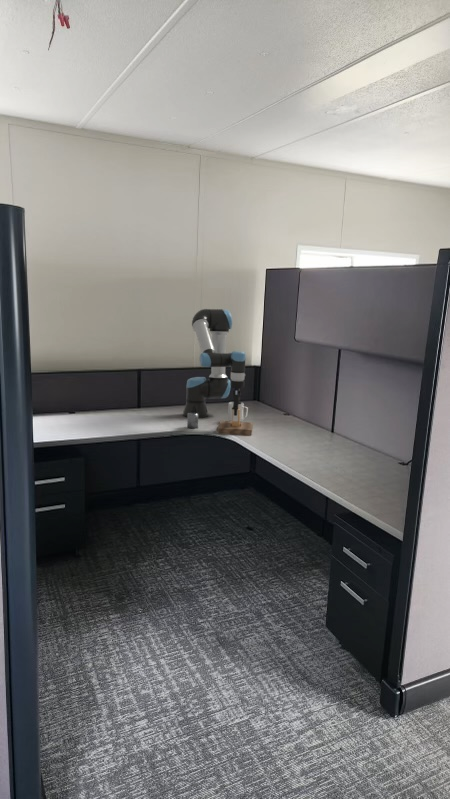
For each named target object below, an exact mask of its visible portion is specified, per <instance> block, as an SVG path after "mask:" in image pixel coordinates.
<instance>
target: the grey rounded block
mask: <svg viewBox="0 0 450 799" xmlns="http://www.w3.org/2000/svg"><path fill="white" fill-rule="evenodd" d="M186 418H187V420H186V422H187V423H186V429H189V430H196V429H198V428H199V418H198V413H188V414H187V417H186Z"/></svg>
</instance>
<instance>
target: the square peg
mask: <svg viewBox="0 0 450 799" xmlns="http://www.w3.org/2000/svg"><path fill="white" fill-rule="evenodd" d="M232 426H239V427H240V409H238V421H233V410H232Z"/></svg>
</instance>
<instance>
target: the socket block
mask: <svg viewBox="0 0 450 799" xmlns="http://www.w3.org/2000/svg"><path fill="white" fill-rule="evenodd" d="M253 424H254V422H251V421H249V422H248V421H242V422H240V427H239V426H232V421H229V420H220V422H219V425H218V427H217V434H219V435H220V434H221V435H235V436H236V435H238V436H239V435H242V436H252V435H253Z"/></svg>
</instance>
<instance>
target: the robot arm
mask: <svg viewBox="0 0 450 799" xmlns="http://www.w3.org/2000/svg"><path fill="white" fill-rule="evenodd" d="M191 327H192V329H193V331H194V332H195V334H196V337H197V341H198V344H199V348H200V351H201V353H200V354H199V365H200V366H201V367H202V368H203V367H204V368H205V367H206V368H211V370H210V371H211V373H210V374H209V376H208V379H207V378H206V377H205V376H195V377H191V378H188V379H187V381H186V386H185V387H186V388H185V389H186V398H185V399H186V400H185V401H186V403H185V405H184V409H183V411H182V416H184V417H186V418H187V414H188V413H198V419H199V418H206V417H208V416H209V415H208V414H209V412H208V409H207V405H206V400H207V399H226V398H228V397H229V395H230V391H231V388H234V390H233V392H232V394H233V402H234V403H233V408H232V409H233V421H238V409H240V405H239V404H241V403H242V402H241V395H242V391H241V389H244V388H245V377H247V376H246V373H245V372H246V358H247V357H246V352H245V351H241V350H238V351H237V350H235V351H232V352H227V334H229V332H230V330H231V329H232V327H233V316H232V313H231V312H230V310H228V309H222V308H221V309H218V308H217V309H215V308H202V309H200V310H198V311H197V312H196V313H195V314H194V316H193V317H192V320H191ZM226 368H230V379H229V377H228V376H227V374H226Z"/></svg>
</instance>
